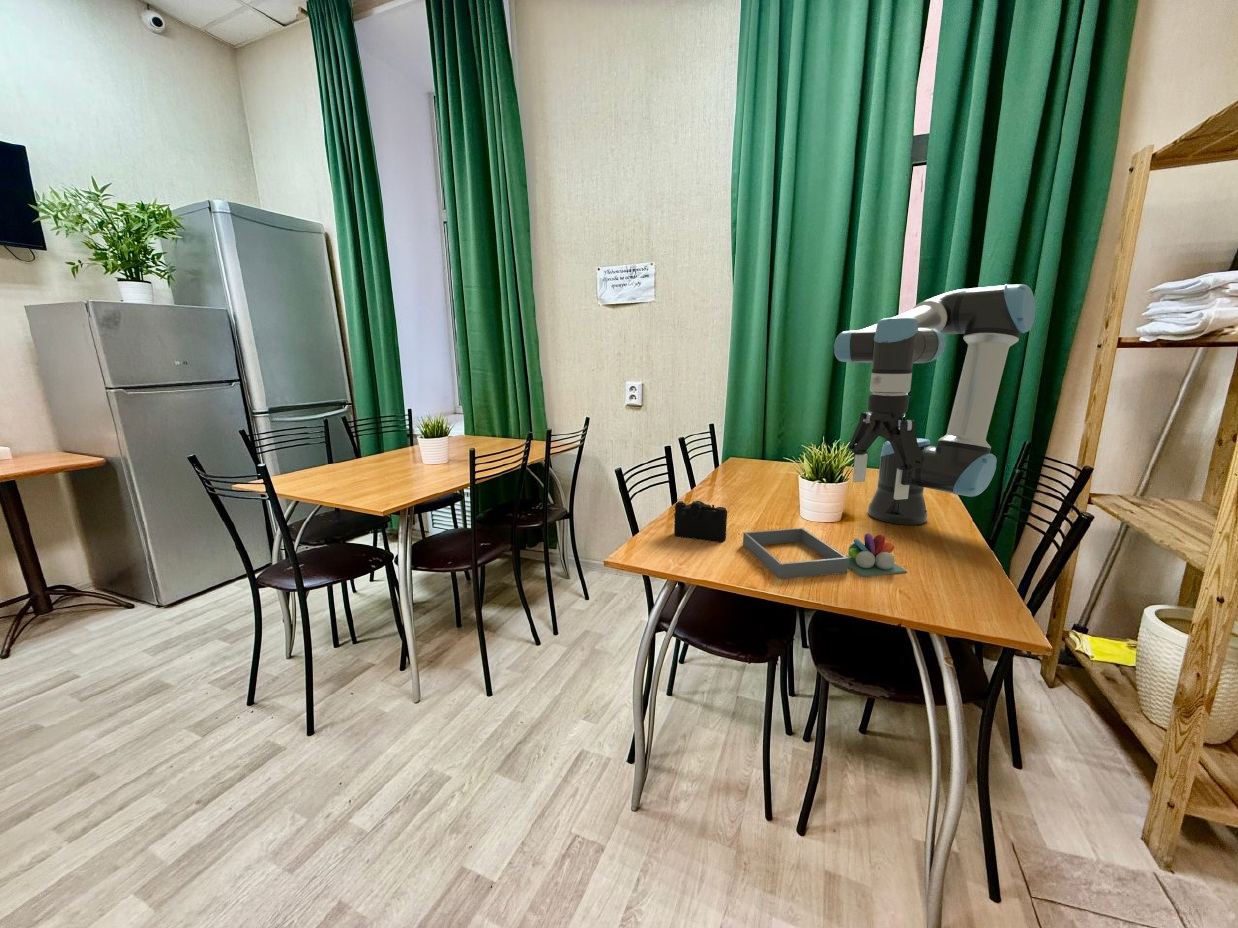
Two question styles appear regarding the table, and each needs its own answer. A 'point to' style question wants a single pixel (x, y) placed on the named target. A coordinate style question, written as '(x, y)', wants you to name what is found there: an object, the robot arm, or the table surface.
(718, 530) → the camera
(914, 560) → the table surface
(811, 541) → the bin
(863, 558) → the rainbow petal fan figurine
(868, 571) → the mat
